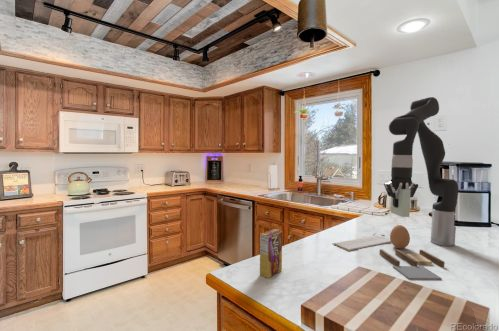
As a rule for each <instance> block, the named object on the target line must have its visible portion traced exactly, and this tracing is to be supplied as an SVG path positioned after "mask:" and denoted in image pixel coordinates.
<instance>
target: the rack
mask: <svg viewBox="0 0 499 331" xmlns="http://www.w3.org/2000/svg"><path fill="white" fill-rule="evenodd" d="M406 254H407V253H404V252H403V251H401V249H400V250H399V249H395V256H397V257H398V258H400V259H401V260H403V261H404V262H406V263H407V264H409V266H418V265H417V263H418V261H416V260H414V259H413V258H411V257H409V256H408V255H406ZM418 254H420V255H422V256H424V257H425V258H427V259H428V260H430V261H432V264H434V265H436V266H438V267H440V268H445V261H444V260H442V259H440V258H439V257H437V256H434V255H433V254H431V253H429V252H427V251H425V250H423V249H419V253H418ZM379 255H380V256H381V257H382V258H384V259H385V260H386V261H388V262H389V263H391V264H392V265H393V266H401V261H400V260H399V259H397V258H396V257H395V256H393V255H392V254H390V253H389V252H386V250H384V249H382V248H381V249H380V248H379Z"/></svg>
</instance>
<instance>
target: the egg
mask: <svg viewBox="0 0 499 331" xmlns="http://www.w3.org/2000/svg"><path fill="white" fill-rule="evenodd" d="M389 240H391V243H390V244H392V245H393V247H395V248H396V249H397V250H399V249H400V250H401V249H405V248H407V246H409V244H410V241H411V237H410V232H409V230H408V229H407V228H406V227H405V226H404V225H402V224H398V225H395V226H394V227H393V228H392V230H391V231H390V234H389Z"/></svg>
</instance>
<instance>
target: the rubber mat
mask: <svg viewBox="0 0 499 331" xmlns="http://www.w3.org/2000/svg"><path fill="white" fill-rule="evenodd" d="M392 268H393V269H394V270H395V271H397V272H398V273H399V274H400V275H403V276H404V278H406V279H408V280H410V281H411V280H412V281H415V280H416V281H417V280H419V281H420V280H421V281H422V280H423V281H426V280H427V281H428V280H429V281H431V280H434V281H437V280H439V281H442V280H443V277H440V276H439V275H437V274H436V273H434V272H432V271H431V270H429V269H428V268H427V267H424V265H417V266H412V265H400V266H395V265H393V266H392Z"/></svg>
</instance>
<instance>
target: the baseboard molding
mask: <svg viewBox="0 0 499 331" xmlns="http://www.w3.org/2000/svg"><path fill="white" fill-rule="evenodd" d="M372 235H373V236H368V237H367V236H366V237H361V238H355V239H349V240H344V241H338V242H333V243H331V244H332V245H333V244H334V246H335V245H337V246H336V247H338V246H339V247H338V248H340V247H341V248H340V249H342V248H343V249H342V250H344V251H347V252H352V251H358V250H359V249H364V248H369V247H374V246H378V245H386V244H392V243H391V240H390V238H387V237H385V236H386V235H384V234H381V235H380V236H379V235H377V233H374V234H372ZM351 250H352V251H351Z"/></svg>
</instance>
